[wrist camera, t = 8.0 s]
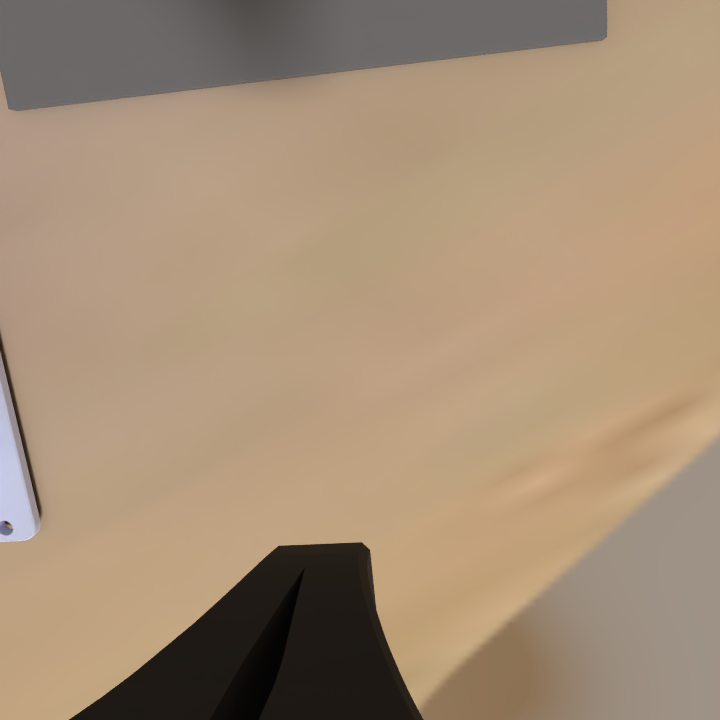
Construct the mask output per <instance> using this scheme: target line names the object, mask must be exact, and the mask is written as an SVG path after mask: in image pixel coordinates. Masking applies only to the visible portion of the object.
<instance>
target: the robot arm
mask: <svg viewBox="0 0 720 720" xmlns="http://www.w3.org/2000/svg"><path fill="white" fill-rule="evenodd" d="M5 521H8V522H9V523H10V524H11V525H12V527H13V529H10V528H9V527H7V526H6V524H5ZM40 527H41V526H40V518H39V513H38V509H37V505H36V501H35V497H34V492H33V488H32V484H31V480H30V475H29V471H28V467H27V463H26V458H25V454H24V450H23V446H22V441H21V437H20V433H19V429H18V425H17V420H16V416H15V412H14V408H13V403H12V399H11V395H10V391H9V386H8V382H7V378H6V374H5V369H4V365H3V361H2V357H1V353H0V542H6V541H24V540H28V539H30V538H31V537H33V536H34V535H35V534H36V533H37V532H38V531H39V529H40ZM69 720H423V718H422V716H421V715H420V713H419V711H418V709H417V707H416V705H415V703H414V701H413V699H412V697H411V695H410V693H409V691H408V689H407V687H406V685H405V683H404V681H403V679H402V677H401V674H400V672H399V670H398V667H397V665H396V663H395V660H394V658H393V656H392V653H391V651H390V648H389V646H388V643H387V641H386V638H385V635H384V633H383V630H382V627H381V623H380V620H379V617H378V614H377V611H376V604H375V594H374V584H373V575H372V565H371V555H370V549H368V548H367V547H366V546H365V545H364V544H363V543H362V542H361V543H337V544H313V545H289V546H278V547H277V548H276V549H274V550H273V551H272V552H271V553H270V554H269V555H267V556H266V557H265V558H264V559H263V560H262V561H261V562H260V563H259V564H258V565H257V566H256V567H254V568H253V569H252V570H251V571H250V572H249V573H248V574H247V575H246V576H245V577H244V578H243V579H242V580H241V581H240V582H239V583H238V584H236V585H235V586H234V587H233V588H232V589H231V590H230V591H229V592H228V593H227V594H226V595H225V596H223V597H222V598H221V599H220V600H219V601H218V602H217V603H216V604H215V605H214V606H213V607H211V608H210V609H209V610H208V611H207V612H206V613H205V614H204V615H203V616H202V617H200V618H199V619H198V620H197V621H196V622H195V623H194V624H193V625H191V626H190V627H189V628H188V629H187V630H185V631H184V632H183V633H182V634H181V635H179V636H178V637H177V638H176V639H175V640H173V641H172V642H171V643H170V644H168V645H167V646H166V647H165V648H164V649H162V650H161V651H160V652H159V653H158V654H156V655H155V656H154V657H153V658H152V659H150V660H149V661H148V662H147V663H146V664H144V665H143V666H142V667H141V668H140V669H138V670H137V671H136V672H135V673H133V674H132V675H131V676H129V677H128V678H127V679H125V680H124V681H123V682H121V683H120V684H119V685H117V686H116V687H115V688H113V689H112V690H111V691H109V692H108V693H107V694H105V695H104V696H103V697H101V698H100V699H98V700H97V701H95V702H94V703H93V704H91V705H90V706H88V707H87V708H85V709H84V710H82V711H81V712H80V713H78V714H77V715H75V716H74V717H72V718H71V719H69Z"/></svg>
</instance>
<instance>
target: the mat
mask: <svg viewBox="0 0 720 720" xmlns="http://www.w3.org/2000/svg"><path fill="white" fill-rule="evenodd" d="M606 37H607V0H0V71H1V76H2V81H3V85H4V90H5V95H6V99H7V104H8V109H11V110H15V111H20V110H29V109H37V108H45V107H53V106H62V105H70V104H78V103H87V102H95V101H103V100H111V99H120V98H128V97H136V96H145V95H153V94H161V93H170V92H178V91H186V90H194V89H203V88H211V87H219V86H228V85H236V84H244V83H253V82H261V81H269V80H277V79H286V78H294V77H302V76H311V75H319V74H327V73H336V72H344V71H352V70H360V69H369V68H377V67H385V66H394V65H402V64H410V63H418V62H427V61H435V60H443V59H452V58H460V57H468V56H477V55H485V54H493V53H501V52H510V51H518V50H526V49H535V48H543V47H551V46H560V45H568V44H576V43H584V42H593V41H601V40H603V39H605V38H606Z"/></svg>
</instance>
